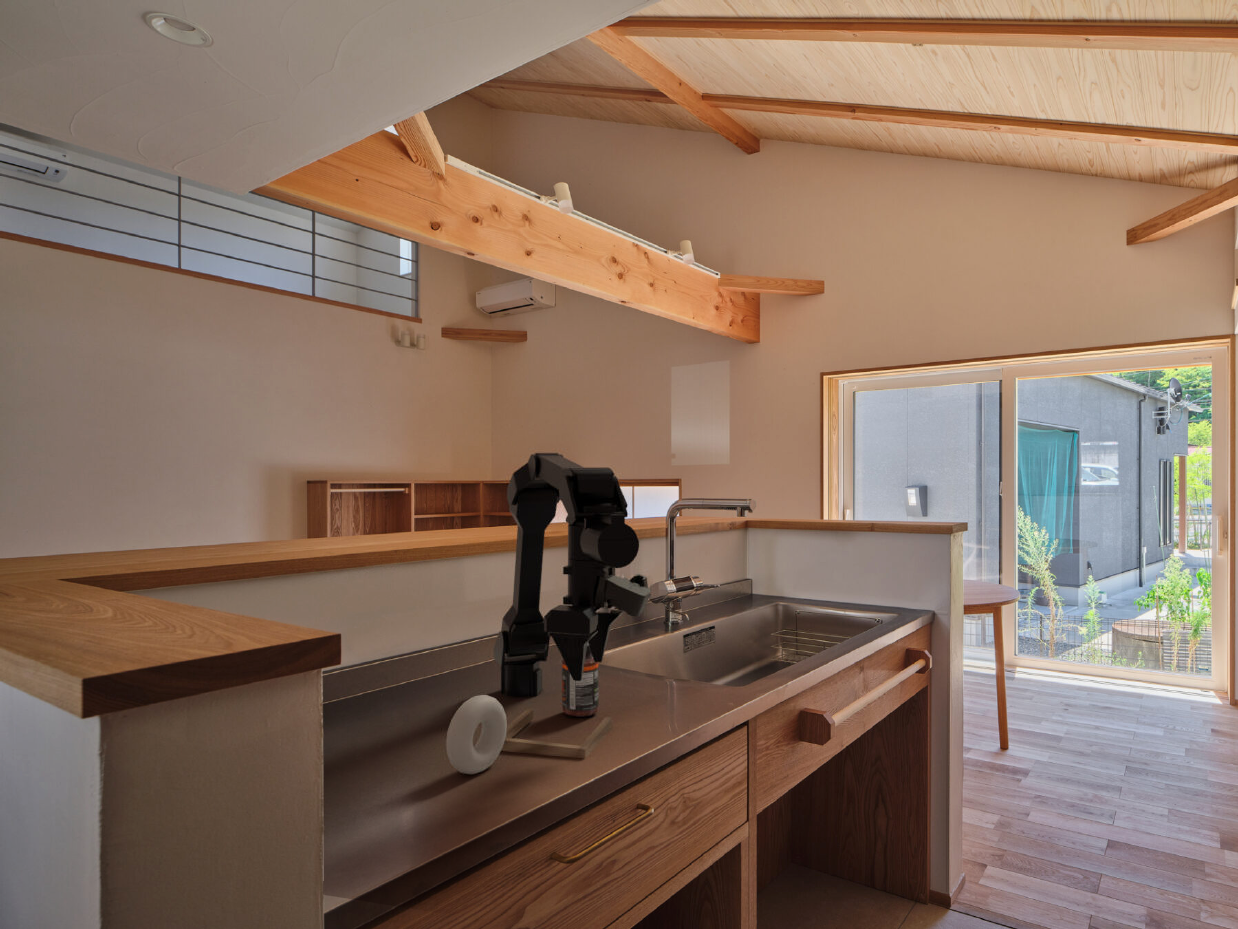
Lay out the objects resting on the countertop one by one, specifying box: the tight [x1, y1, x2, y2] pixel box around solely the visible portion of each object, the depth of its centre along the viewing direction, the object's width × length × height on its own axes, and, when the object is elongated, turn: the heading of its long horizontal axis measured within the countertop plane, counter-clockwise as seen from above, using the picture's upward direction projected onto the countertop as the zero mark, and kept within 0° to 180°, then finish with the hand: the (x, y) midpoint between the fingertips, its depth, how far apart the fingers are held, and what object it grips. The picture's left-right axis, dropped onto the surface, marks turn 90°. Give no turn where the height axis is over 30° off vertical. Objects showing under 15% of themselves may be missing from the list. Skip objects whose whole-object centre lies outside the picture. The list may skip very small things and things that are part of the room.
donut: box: [445, 694, 508, 776], centre depth 97 cm, size 10×4×10 cm, turn 148°
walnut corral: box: [500, 708, 613, 759], centre depth 109 cm, size 14×13×2 cm
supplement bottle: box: [561, 643, 600, 717], centre depth 121 cm, size 6×6×11 cm
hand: (588, 670), depth 102 cm, fingers open, 9 cm apart
